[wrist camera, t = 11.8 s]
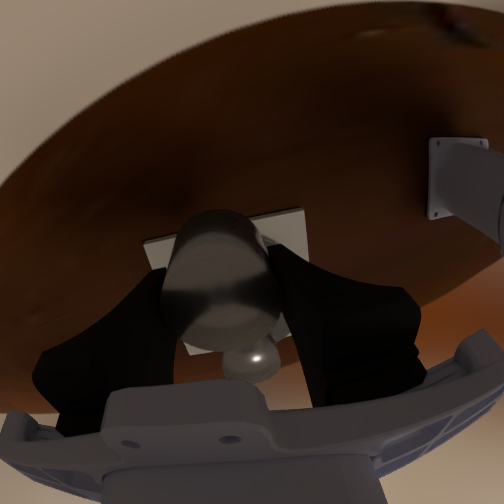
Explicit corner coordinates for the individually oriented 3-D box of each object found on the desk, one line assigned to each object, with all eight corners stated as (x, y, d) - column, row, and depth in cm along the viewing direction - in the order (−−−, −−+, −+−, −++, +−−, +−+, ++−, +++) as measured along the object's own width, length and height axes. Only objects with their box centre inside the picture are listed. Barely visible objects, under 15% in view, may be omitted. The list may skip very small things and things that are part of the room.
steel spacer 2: (271, 305, 23) (282, 344, 19) (270, 342, 25) (279, 380, 21) (217, 310, 23) (219, 350, 19) (222, 347, 25) (224, 386, 21)
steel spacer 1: (263, 205, 13) (285, 249, 9) (263, 285, 15) (279, 346, 11) (167, 212, 13) (148, 260, 9) (180, 291, 15) (172, 354, 11)
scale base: (301, 207, 22) (304, 210, 21) (311, 325, 28) (313, 330, 27) (140, 242, 22) (138, 246, 21) (186, 351, 27) (186, 355, 27)
